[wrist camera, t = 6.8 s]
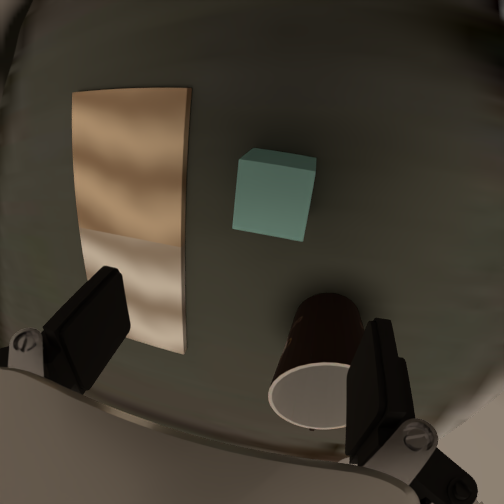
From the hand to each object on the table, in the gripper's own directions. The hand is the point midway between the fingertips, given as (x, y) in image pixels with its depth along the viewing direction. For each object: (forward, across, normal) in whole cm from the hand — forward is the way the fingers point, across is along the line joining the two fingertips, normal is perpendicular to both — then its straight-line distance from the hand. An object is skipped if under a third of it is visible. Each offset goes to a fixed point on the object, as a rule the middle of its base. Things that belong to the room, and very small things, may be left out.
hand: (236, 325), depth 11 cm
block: (+17, 0, 0) cm, 17 cm away
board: (+16, +14, +6) cm, 23 cm away
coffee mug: (+16, -5, +14) cm, 22 cm away
